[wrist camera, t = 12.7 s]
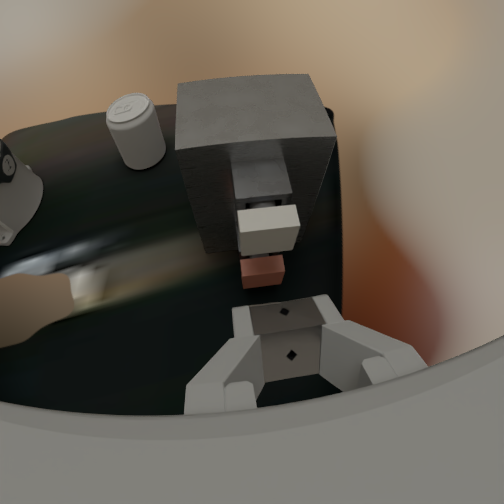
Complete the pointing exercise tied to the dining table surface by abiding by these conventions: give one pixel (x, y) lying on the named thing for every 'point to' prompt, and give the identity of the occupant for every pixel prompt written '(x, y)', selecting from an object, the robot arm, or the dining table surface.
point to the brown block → (262, 270)
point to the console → (250, 149)
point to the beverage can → (136, 130)
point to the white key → (267, 228)
